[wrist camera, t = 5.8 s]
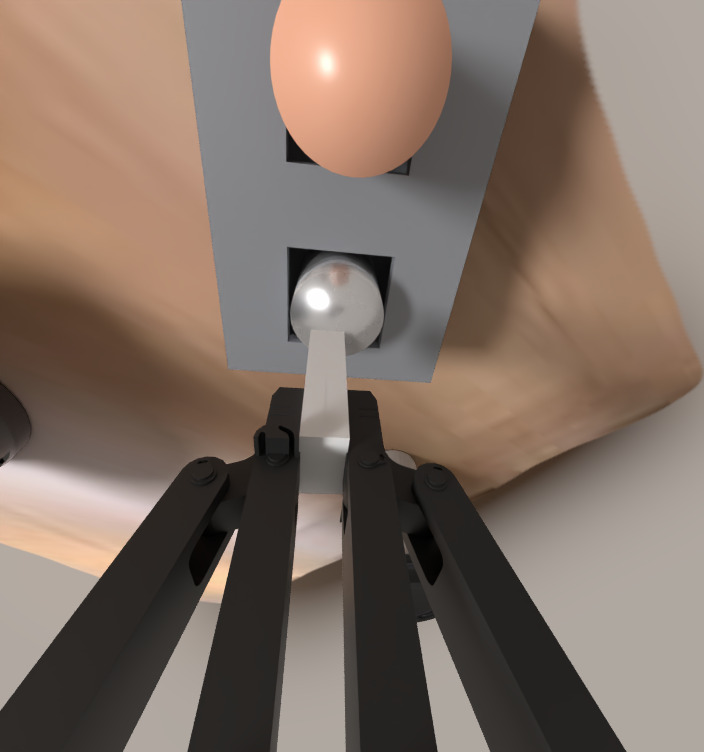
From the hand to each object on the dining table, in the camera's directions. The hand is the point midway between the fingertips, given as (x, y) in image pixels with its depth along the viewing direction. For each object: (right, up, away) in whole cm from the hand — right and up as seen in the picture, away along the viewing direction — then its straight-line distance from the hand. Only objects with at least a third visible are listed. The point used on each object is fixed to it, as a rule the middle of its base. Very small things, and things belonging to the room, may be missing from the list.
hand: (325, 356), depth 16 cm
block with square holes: (+1, +12, +8) cm, 15 cm away
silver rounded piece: (0, +6, +9) cm, 11 cm away
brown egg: (+1, +12, -1) cm, 12 cm away
